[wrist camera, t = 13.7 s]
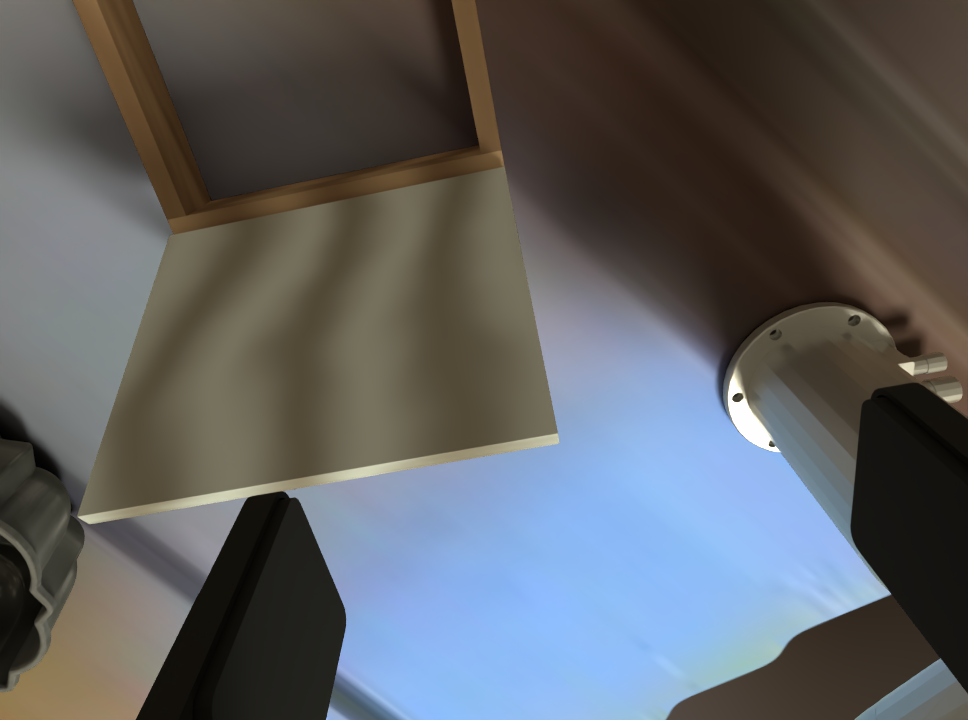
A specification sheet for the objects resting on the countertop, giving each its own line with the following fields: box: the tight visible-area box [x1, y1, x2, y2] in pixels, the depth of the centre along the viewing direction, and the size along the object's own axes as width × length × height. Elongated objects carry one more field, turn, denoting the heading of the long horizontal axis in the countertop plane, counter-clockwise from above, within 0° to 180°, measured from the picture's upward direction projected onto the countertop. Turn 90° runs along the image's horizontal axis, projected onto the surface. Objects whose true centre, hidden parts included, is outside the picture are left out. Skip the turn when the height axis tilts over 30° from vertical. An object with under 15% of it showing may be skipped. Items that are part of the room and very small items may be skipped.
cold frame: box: [73, 0, 559, 524], centre depth 29 cm, size 20×25×21 cm
